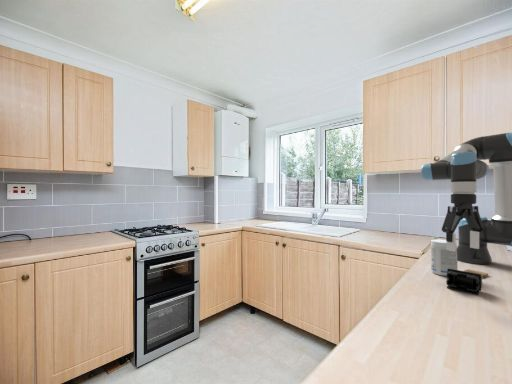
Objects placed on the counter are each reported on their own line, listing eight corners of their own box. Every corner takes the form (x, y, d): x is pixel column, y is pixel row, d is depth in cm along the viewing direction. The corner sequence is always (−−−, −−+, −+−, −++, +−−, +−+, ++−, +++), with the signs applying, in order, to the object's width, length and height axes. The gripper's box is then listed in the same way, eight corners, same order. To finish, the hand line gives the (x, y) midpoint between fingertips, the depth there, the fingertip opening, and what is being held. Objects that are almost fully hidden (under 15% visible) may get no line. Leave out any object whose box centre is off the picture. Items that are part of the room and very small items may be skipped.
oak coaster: (468, 271, 118) (468, 269, 118) (488, 275, 112) (488, 273, 112) (461, 273, 114) (461, 271, 114) (481, 278, 108) (481, 276, 108)
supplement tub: (461, 274, 113) (461, 241, 113) (452, 278, 108) (452, 244, 108) (436, 269, 122) (436, 238, 121) (427, 272, 116) (427, 240, 116)
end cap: (482, 290, 95) (482, 272, 95) (479, 296, 91) (479, 277, 91) (449, 283, 103) (449, 266, 103) (445, 288, 98) (445, 270, 98)
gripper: (473, 193, 104) (472, 245, 104) (430, 193, 96) (430, 249, 96) (495, 193, 97) (495, 249, 97) (451, 193, 89) (451, 254, 89)
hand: (463, 249), depth 96 cm, fingers open, 13 cm apart
